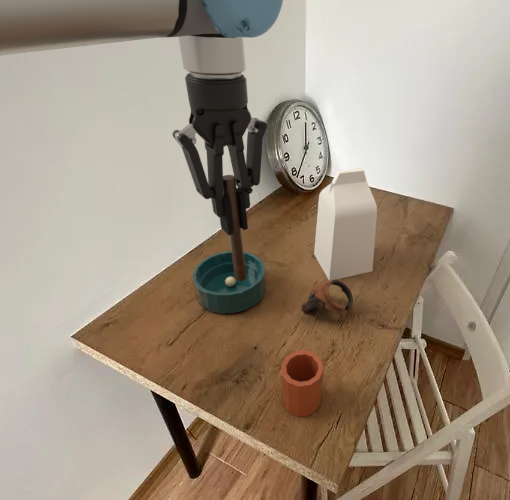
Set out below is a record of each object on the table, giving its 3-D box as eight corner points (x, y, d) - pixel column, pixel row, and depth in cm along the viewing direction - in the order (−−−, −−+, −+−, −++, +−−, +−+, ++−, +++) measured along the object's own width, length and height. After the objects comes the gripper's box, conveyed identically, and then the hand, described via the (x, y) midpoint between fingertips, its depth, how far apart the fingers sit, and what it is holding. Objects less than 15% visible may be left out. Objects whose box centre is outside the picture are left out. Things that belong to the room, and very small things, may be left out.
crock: (297, 424, 58) (297, 393, 53) (275, 395, 62) (273, 364, 57) (328, 401, 62) (331, 370, 57) (306, 375, 66) (306, 344, 61)
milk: (329, 280, 88) (335, 185, 72) (314, 254, 96) (316, 163, 81) (372, 271, 92) (386, 178, 76) (354, 246, 100) (363, 158, 85)
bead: (221, 282, 82) (227, 289, 81) (226, 274, 82) (232, 281, 81) (228, 281, 84) (234, 288, 84) (234, 274, 84) (239, 281, 83)
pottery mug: (322, 289, 86) (341, 271, 81) (343, 323, 83) (364, 305, 78) (284, 304, 77) (303, 284, 72) (307, 342, 74) (328, 324, 69)
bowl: (215, 326, 74) (211, 305, 70) (186, 286, 83) (181, 266, 79) (278, 295, 82) (277, 276, 79) (246, 262, 91) (244, 243, 88)
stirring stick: (238, 282, 64) (225, 181, 52) (233, 277, 65) (219, 176, 54) (248, 278, 65) (237, 178, 54) (242, 273, 66) (231, 173, 55)
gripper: (252, 65, 52) (261, 206, 65) (143, 71, 43) (180, 232, 57) (281, 74, 47) (285, 224, 61) (166, 83, 39) (200, 255, 53)
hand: (234, 228), depth 59 cm, fingers closed on stirring stick, 2 cm apart
